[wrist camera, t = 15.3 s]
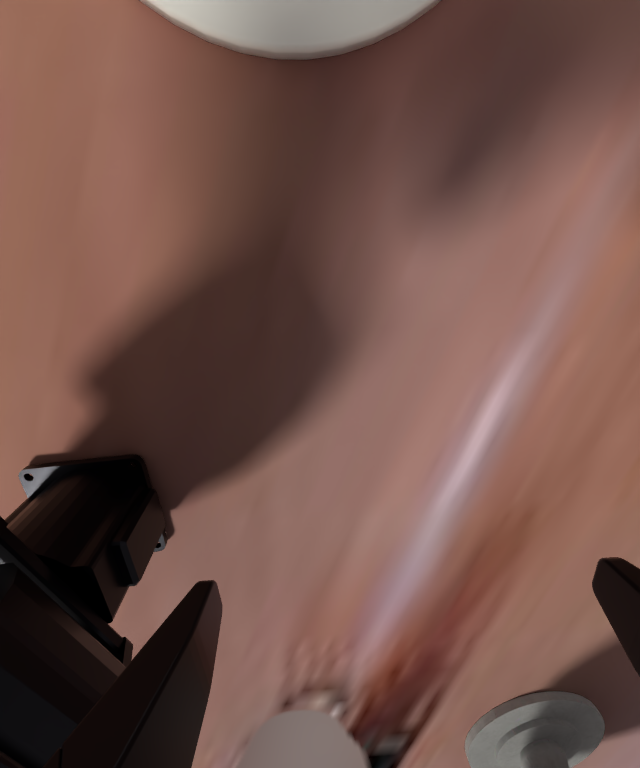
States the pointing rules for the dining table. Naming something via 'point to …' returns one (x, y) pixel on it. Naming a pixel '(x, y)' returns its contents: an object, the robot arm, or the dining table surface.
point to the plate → (291, 24)
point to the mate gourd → (536, 732)
